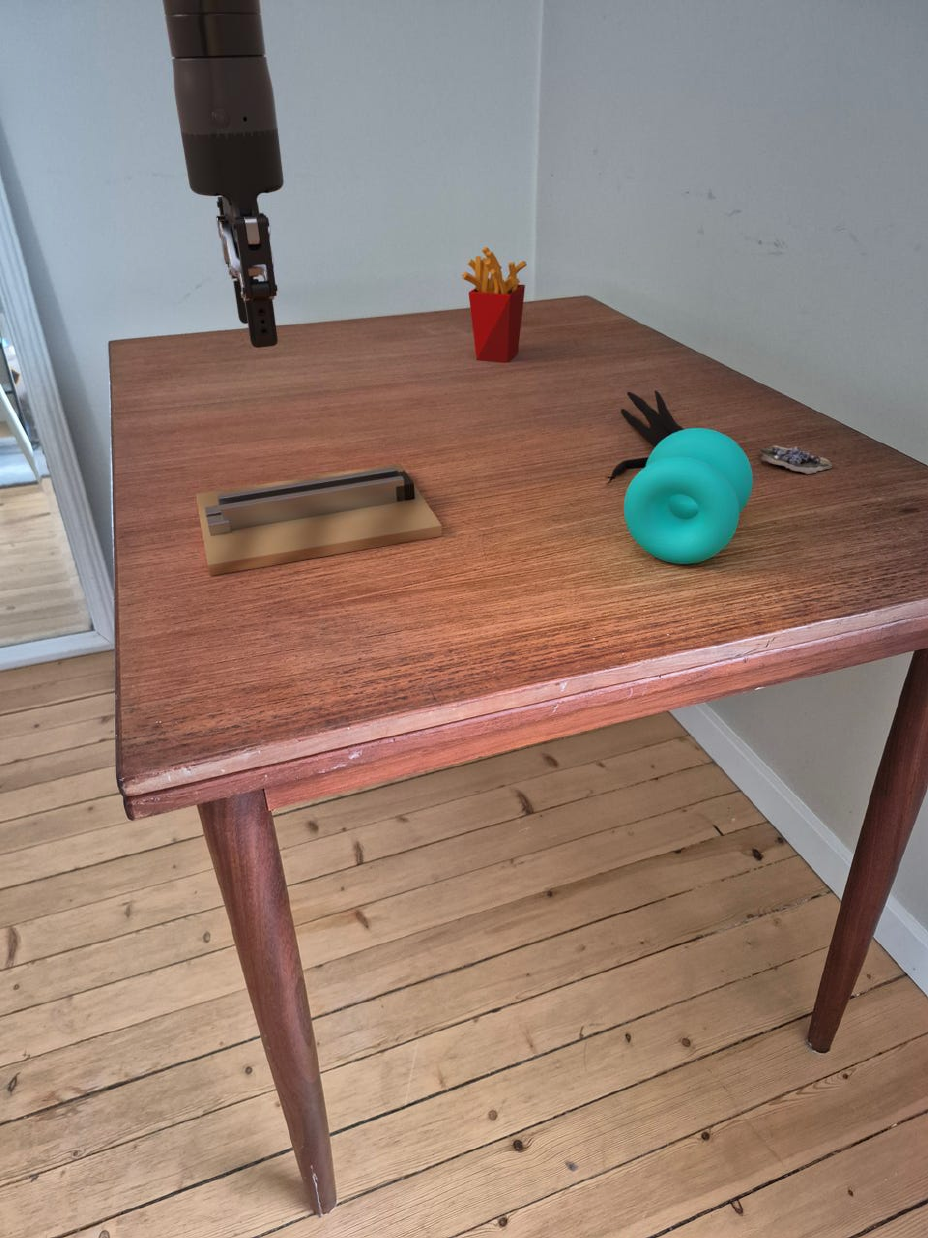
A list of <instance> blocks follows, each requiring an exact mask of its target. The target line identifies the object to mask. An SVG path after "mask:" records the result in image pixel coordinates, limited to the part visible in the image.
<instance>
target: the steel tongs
mask: <svg viewBox="0 0 928 1238" xmlns="http://www.w3.org/2000/svg"><path fill="white" fill-rule="evenodd" d="M414 485H415V483H414V481H413V480H412V478H411V477H410V476H409V474H408V473H407V472H406V470H405V471H402V472H398V470H397V468H396V467H392V468H386V469H379V470H373V471H367V472H360V473H354V474H348V475H341V476H335V477H329V478H322V479H316V480H310V481H303V482H297V483H291V484H285V485H278V486H272V487H266V488H259V489H253V490H247V491H240V492H234V493H228V494H221V495H217V498H218V503H219V505H213V506H207V507H204V509H205V514H206V518H207V523H208V527H209V532H210V535H211V536H212V535H218V534H224V533H230V532H231V530H236V529H242V528H248V527H254V526H259V525H265V524H271V523H277V522H283V521H289V520H295V519H301V518H307V517H313V516H319V515H324V514H330V513H336V512H342V511H348V510H354V509H360V508H366V507H372V506H378V505H384V504H390V503H395V502H401V501H407V500H412V499H415V491H414Z"/></svg>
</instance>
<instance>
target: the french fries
mask: <svg viewBox="0 0 928 1238" xmlns="http://www.w3.org/2000/svg"><path fill="white" fill-rule="evenodd" d="M481 252H482V253H483V255H484V256H485V257H483V258H482V256H481V255H475V261H474V260H473V259H472V258H471V259H470V260H469V261H468V262H467V265H468V266H469V267H470V268H472V270H473V271H474V275H473V274H471V273H469V272H467V271H464V272H463V274H462V275H461V277H462V280H464V281H467V282H469V284H470V283H471V284H472V285H474V287H475V288H473V289H471V290H470V291H468V300H469V301H468V302H469V309H470V317H471V326H472V333H473V342H474V350H475V358H476V361H483V362H496V363H503V364H504V363H505V364H507V363H509V362H510V361H511V360H513V359H514V358H515V357H516V356H517V355H518V354H519V347H520V339H521V328H522V319H523V308H524V299H525V290H526V284H519V283H521V281H520V279H519V278H518V275H517V274H518V273H519V272H520V271H521V270H522V269H524V268H526V266H528V265H527V262H526V261H524V260H522V261H521V262H520V263H518V264H517V265H516V263H515V261H514V262H508V271H509V274H508V275H507V278H506V279H505V280H504V279H503V273H502V267H503V266H502V265H500V263H499V261H498V259H497V257H496V255H495V254H494V252H493V251H491V250H490V248H489V247H487V246H486V247H484V248H483V249H482V250H481ZM489 275H490V277H489Z"/></svg>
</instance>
